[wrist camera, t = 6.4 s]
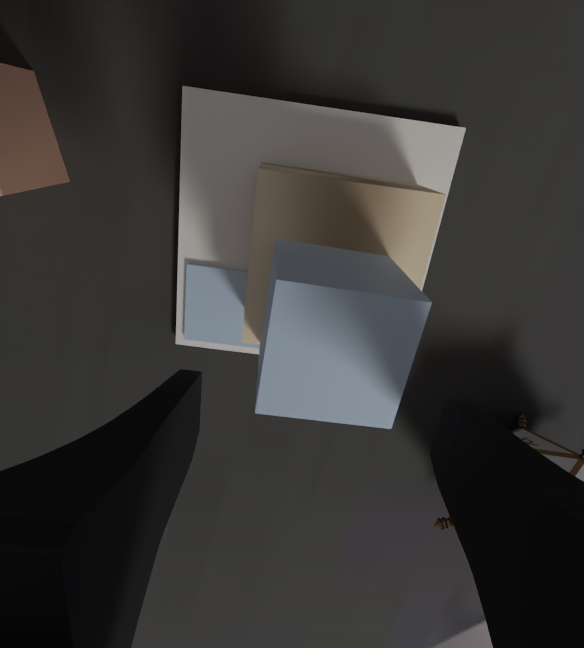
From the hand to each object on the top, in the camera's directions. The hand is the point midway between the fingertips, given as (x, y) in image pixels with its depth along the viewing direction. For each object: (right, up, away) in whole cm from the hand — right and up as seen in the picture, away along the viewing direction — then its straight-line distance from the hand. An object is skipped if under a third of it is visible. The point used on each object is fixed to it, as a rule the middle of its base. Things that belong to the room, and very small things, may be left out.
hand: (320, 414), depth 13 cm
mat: (0, +6, +8) cm, 11 cm away
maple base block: (+1, +6, +8) cm, 10 cm away
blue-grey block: (0, +4, +5) cm, 6 cm away
